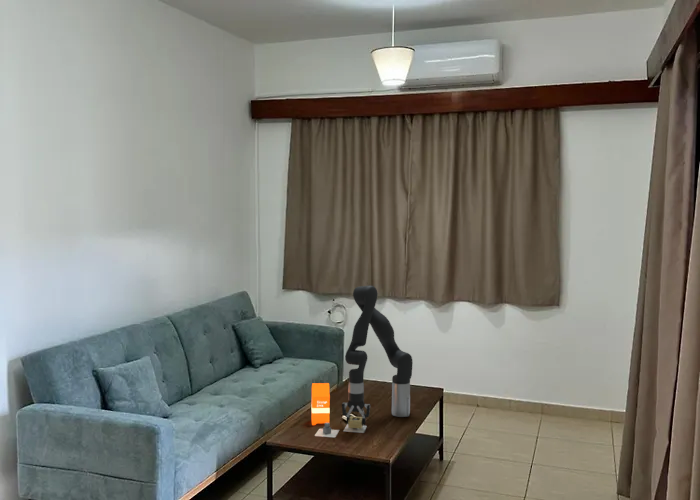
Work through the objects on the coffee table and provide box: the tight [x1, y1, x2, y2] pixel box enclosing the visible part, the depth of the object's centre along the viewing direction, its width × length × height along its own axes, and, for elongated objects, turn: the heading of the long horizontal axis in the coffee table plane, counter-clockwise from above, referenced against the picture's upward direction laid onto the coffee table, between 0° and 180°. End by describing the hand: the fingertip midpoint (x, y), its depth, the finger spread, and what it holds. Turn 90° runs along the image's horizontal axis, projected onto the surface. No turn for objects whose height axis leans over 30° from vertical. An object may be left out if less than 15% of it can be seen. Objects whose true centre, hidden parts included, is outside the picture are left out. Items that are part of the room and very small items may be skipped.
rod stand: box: [343, 419, 368, 434], centre depth 321 cm, size 10×10×5 cm
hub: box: [314, 422, 340, 438], centre depth 315 cm, size 10×10×6 cm
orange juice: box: [310, 382, 331, 426], centre depth 331 cm, size 8×9×20 cm
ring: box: [347, 415, 362, 429], centre depth 321 cm, size 6×6×4 cm
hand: (355, 424), depth 321 cm, fingers closed on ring, 6 cm apart
